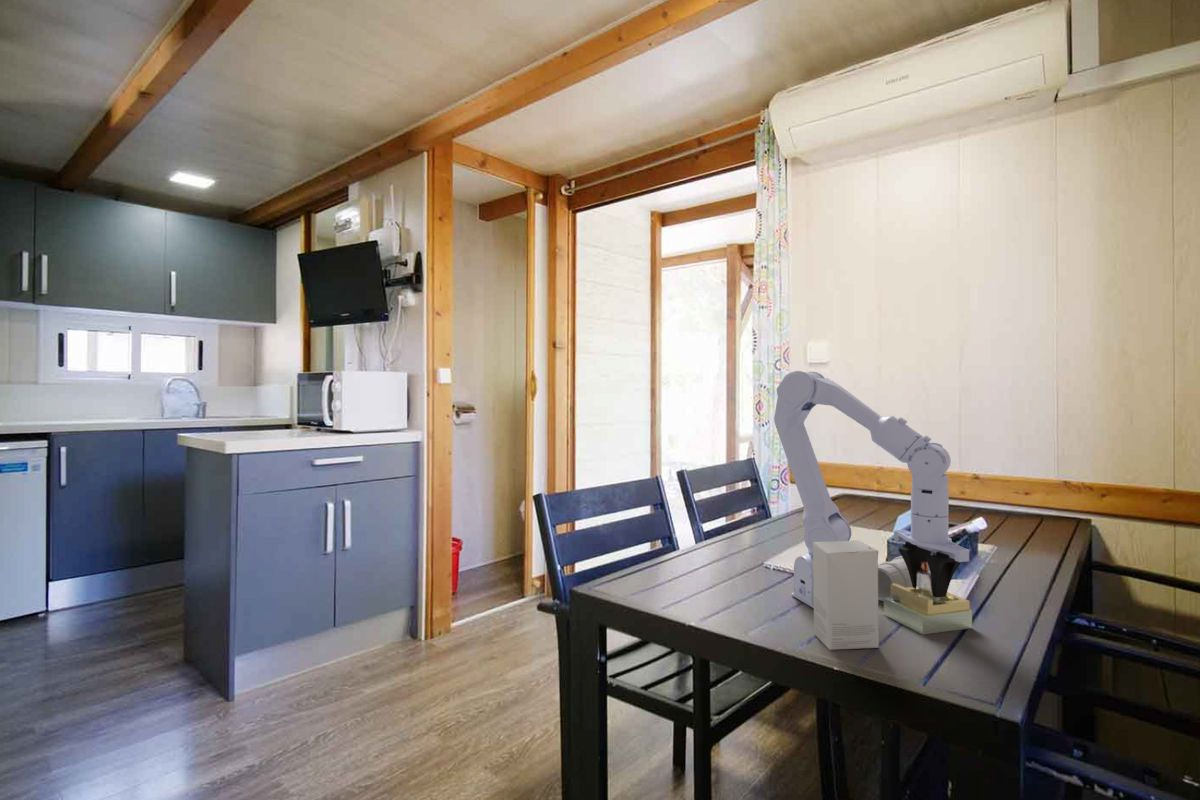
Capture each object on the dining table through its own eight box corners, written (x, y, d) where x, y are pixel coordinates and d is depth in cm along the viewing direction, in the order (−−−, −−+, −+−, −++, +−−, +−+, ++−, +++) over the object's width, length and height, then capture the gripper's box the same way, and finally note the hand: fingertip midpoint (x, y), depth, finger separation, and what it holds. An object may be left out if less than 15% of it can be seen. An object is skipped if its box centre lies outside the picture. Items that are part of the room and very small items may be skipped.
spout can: (948, 604, 102) (948, 566, 102) (929, 606, 101) (929, 568, 101) (929, 596, 106) (929, 560, 106) (911, 598, 105) (911, 561, 105)
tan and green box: (922, 634, 98) (922, 601, 98) (883, 614, 107) (883, 583, 107) (971, 628, 101) (972, 595, 101) (929, 609, 109) (930, 579, 109)
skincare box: (861, 633, 99) (861, 539, 99) (881, 650, 92) (881, 550, 92) (811, 633, 99) (811, 540, 98) (827, 651, 92) (828, 550, 92)
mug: (938, 591, 113) (897, 605, 108) (887, 597, 123) (847, 611, 117) (922, 551, 116) (882, 563, 110) (873, 560, 125) (834, 571, 120)
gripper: (984, 521, 98) (984, 604, 98) (916, 504, 112) (916, 577, 112) (949, 524, 96) (948, 608, 96) (884, 506, 110) (884, 580, 110)
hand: (929, 591), depth 104 cm, fingers closed on spout can, 4 cm apart
